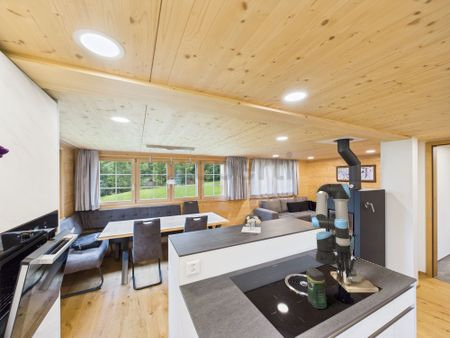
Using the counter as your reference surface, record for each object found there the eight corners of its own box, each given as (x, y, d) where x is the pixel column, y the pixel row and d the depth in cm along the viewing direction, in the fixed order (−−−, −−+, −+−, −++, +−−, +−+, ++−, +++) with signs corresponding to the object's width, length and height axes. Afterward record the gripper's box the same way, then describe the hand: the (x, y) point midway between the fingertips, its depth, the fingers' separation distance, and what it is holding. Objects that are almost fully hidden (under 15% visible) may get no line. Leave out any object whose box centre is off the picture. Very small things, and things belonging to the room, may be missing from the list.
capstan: (350, 273, 126) (350, 262, 126) (365, 281, 116) (364, 268, 117) (331, 278, 121) (330, 266, 121) (344, 287, 111) (343, 274, 112)
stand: (330, 274, 130) (330, 271, 130) (356, 274, 129) (356, 271, 129) (348, 292, 110) (347, 288, 110) (378, 292, 109) (378, 288, 109)
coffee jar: (329, 308, 97) (327, 273, 98) (316, 311, 96) (314, 275, 97) (317, 297, 107) (315, 265, 108) (305, 299, 105) (303, 266, 106)
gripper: (357, 245, 111) (360, 284, 110) (334, 240, 122) (337, 275, 120) (352, 248, 107) (355, 289, 106) (329, 242, 117) (332, 279, 116)
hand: (346, 282), depth 113 cm, fingers closed
